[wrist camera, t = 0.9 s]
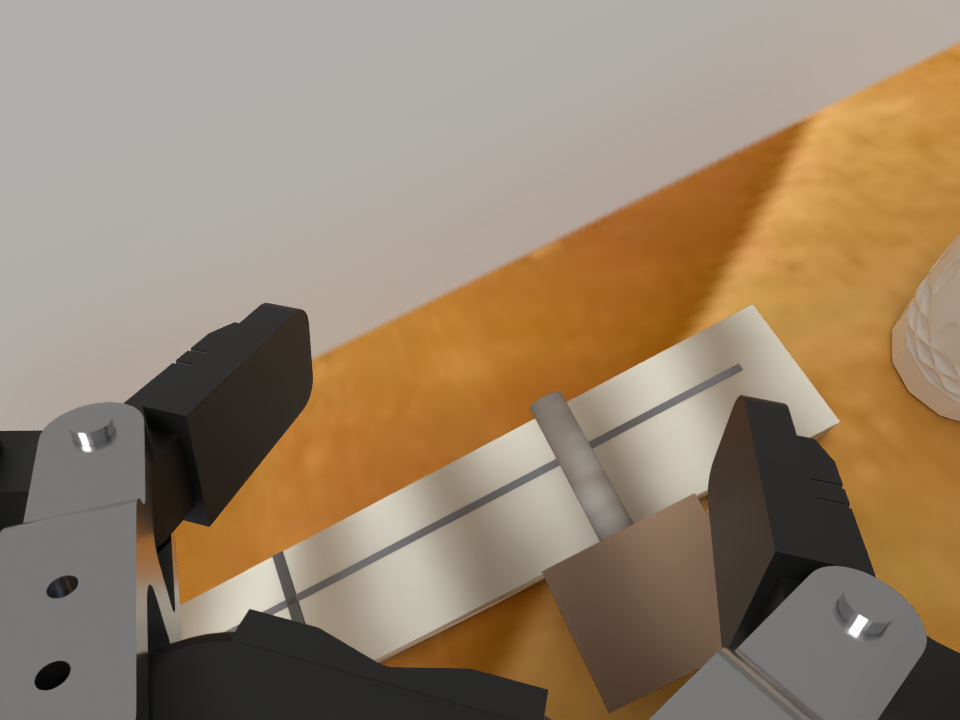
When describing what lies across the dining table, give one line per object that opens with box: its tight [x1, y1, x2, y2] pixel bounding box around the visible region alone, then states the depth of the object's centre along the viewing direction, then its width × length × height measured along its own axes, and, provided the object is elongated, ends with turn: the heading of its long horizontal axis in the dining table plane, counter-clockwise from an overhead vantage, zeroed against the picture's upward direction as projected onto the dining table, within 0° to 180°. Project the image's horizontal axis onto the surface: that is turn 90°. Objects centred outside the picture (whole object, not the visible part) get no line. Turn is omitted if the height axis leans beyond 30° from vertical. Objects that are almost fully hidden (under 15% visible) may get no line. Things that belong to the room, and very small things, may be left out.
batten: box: [180, 304, 840, 663], centre depth 29 cm, size 30×6×3 cm, turn 115°
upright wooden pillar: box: [530, 392, 722, 713], centre depth 24 cm, size 5×9×11 cm, turn 25°
